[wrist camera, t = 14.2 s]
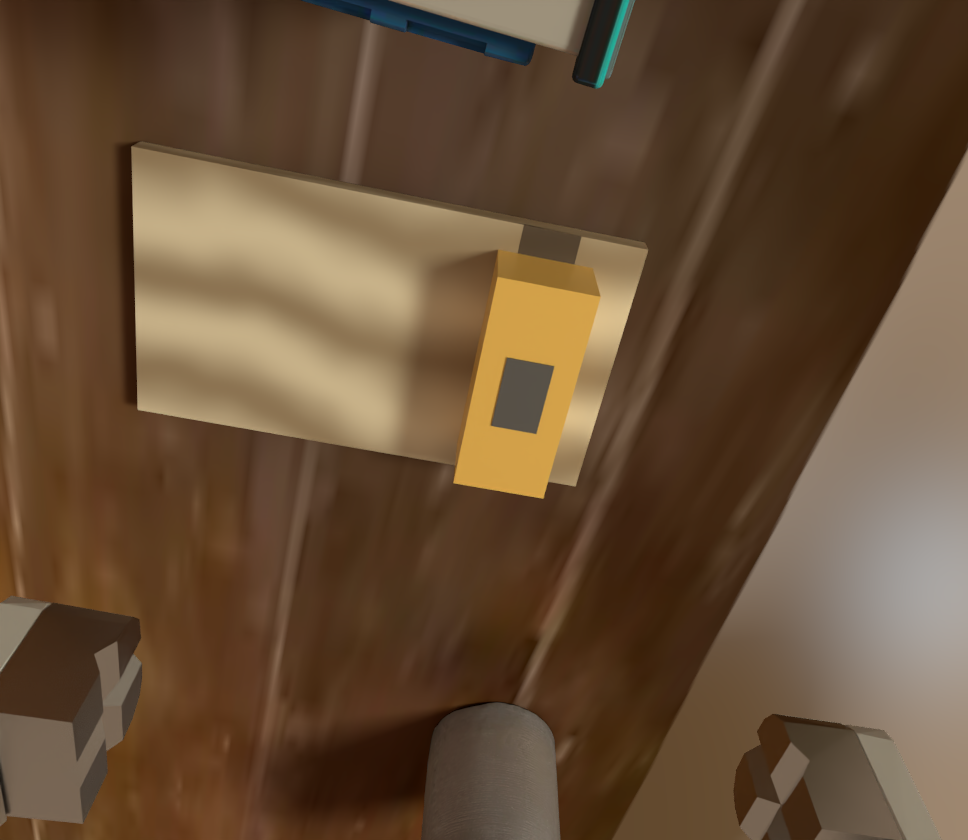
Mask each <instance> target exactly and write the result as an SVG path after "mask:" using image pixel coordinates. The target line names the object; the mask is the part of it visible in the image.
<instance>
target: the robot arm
mask: <svg viewBox="0 0 968 840" xmlns="http://www.w3.org/2000/svg"><path fill="white" fill-rule="evenodd" d="M140 639H141V634H140V622H139V619H137V618H135V617H131V616H125V615H119V614H114V613H108V612H103V611H97V610H92V609H86V608H80V607H75V606H69V605H64V604H58V603H50V602H44V601H38V600H32V599H26V598H21V597H15V596H10V597H9V598H7V599H6V600H5V601H3V602H2V603H0V826H1V825H2V824H3V823H4V822H6V820H7V817H6V816H14V817H24V818H33V819H43V820H52V821H62V822H72V823H81V824H83V822H84V820H85V818H86V816H87V814H88V812H89V810H90V808H91V806H92V804H93V802H94V800H95V797H96V795H97V793H98V791H99V789H100V787H101V785H102V783H103V781H104V779H105V777H106V774H107V756H106V751H107V750H109V749H110V748H112V747H113V746H115V745H116V744H117V743H119V742H120V741H122V740H123V738H124V736H125V734H126V732H127V730H128V727H129V725H130V723H131V721H132V718H133V715H134V712H135V708H136V705H137V702H138V698H139V695H140V688H141V681H142V663H141V662H140V661H139V660H138V659H137V658H136V656H135V655H134V654H133V653H134V651H135V649H136V647H137V645H138V643H139V641H140ZM757 733H758V736H759V740H760V743H761V745H759V746H757V747H755V748H753V749H751V750H749V751H748V752H746V753H744V755H743V758H742V759H741V761H740V763H739V766H738V767H737V769H736V776H735V783H734V802H735V810H736V814H737V818H738V822H739V826H740V828H742V830H743V831H744V832H745V833H746V835H747V836H748V837H749V838H750V839H751V840H942V839H941V837H940V835H939V833H938V831H937V829H936V827H935V825H934V823H933V821H932V819H931V817H930V815H929V812H928V810H927V808H926V806H925V804H924V802H923V800H922V798H921V796H920V794H919V792H918V790H917V788H916V786H915V784H914V782H913V780H912V778H911V776H910V774H909V772H908V769H907V767H906V766H905V763H904V761H903V759H902V757H901V755H900V753H899V751H898V749H897V747H896V745H895V743H894V741H893V739H892V738H891V737H890V736H889V735H888V734H887V733H886V732H885V731H884V730H879V729H872V728H865V727H859V726H852V725H843V724H841V723H835V722H828V721H819V720H813V719H806V718H799V717H792V716H785V715H778V714H772V715H770V716H769V717H767V718H765V719H764V721H763V722H762V724H761V726H760V727H759V729H758V731H757Z"/></svg>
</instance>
